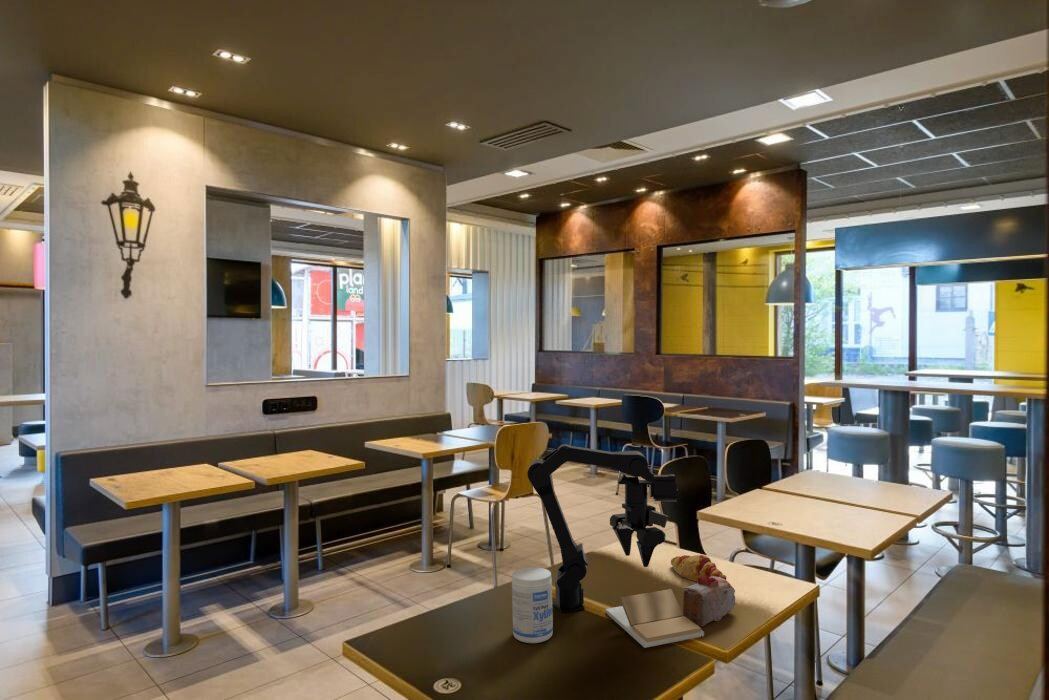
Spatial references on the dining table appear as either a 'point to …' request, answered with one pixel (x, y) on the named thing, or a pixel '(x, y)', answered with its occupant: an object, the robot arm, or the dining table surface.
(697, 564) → the croissant
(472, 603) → the dining table surface
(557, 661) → the dining table surface
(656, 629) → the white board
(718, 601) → the food item
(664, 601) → the click plank
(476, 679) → the dining table surface
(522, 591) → the supplement tub
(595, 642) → the dining table surface
